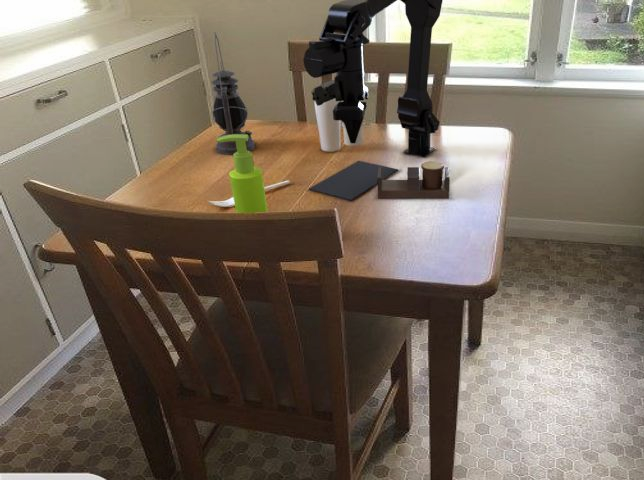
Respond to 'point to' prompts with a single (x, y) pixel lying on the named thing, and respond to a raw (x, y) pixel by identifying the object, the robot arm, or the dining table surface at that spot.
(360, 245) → the dining table surface
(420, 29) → the robot arm
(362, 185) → the mat
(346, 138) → the coffee pod
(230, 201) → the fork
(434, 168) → the cylinder
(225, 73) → the lantern
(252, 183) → the soap dispenser
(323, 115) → the drinking glass
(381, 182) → the pod rack
